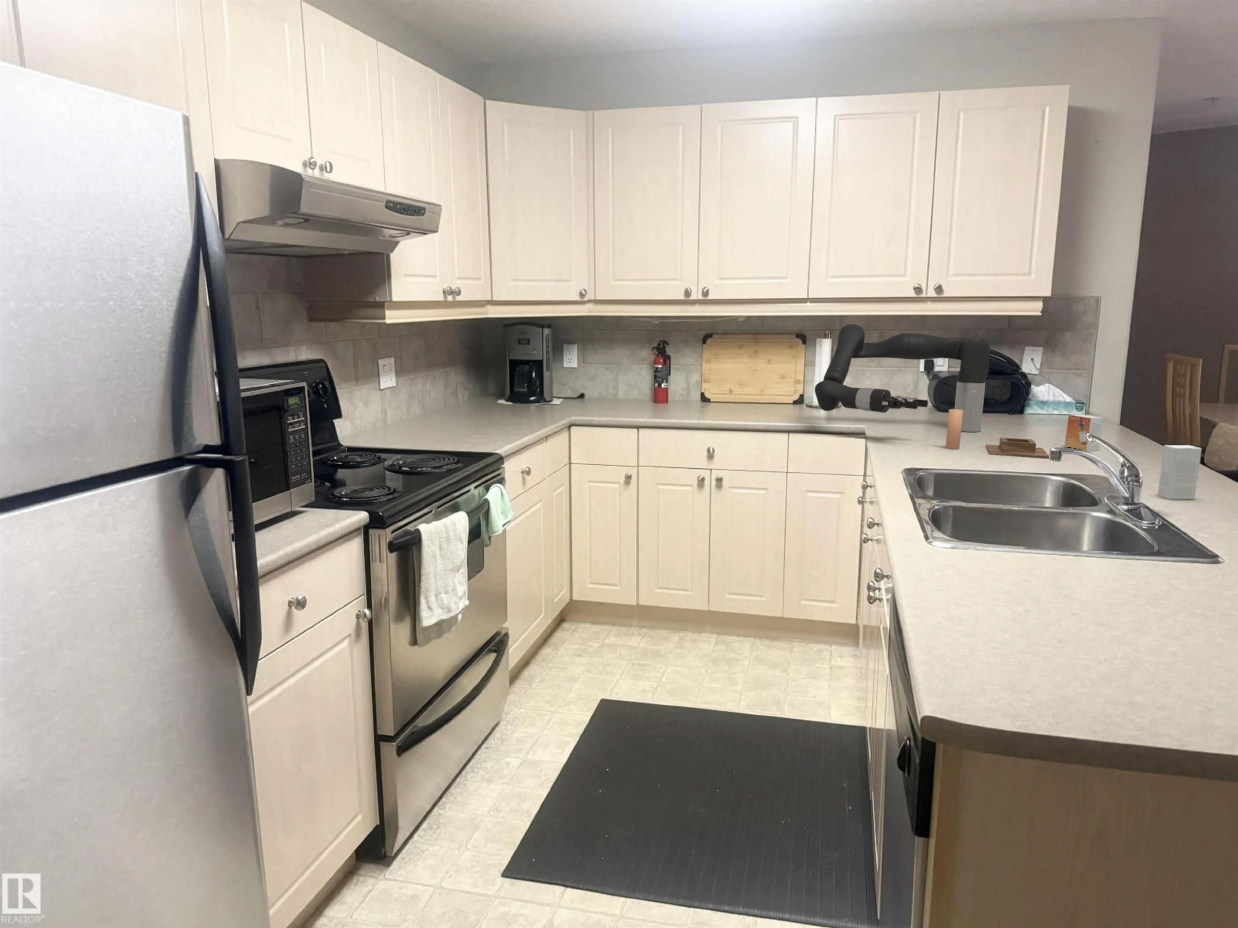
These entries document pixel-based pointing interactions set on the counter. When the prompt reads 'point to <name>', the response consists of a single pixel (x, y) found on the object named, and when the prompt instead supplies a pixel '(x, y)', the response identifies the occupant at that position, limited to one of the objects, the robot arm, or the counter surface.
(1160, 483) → the skincare box
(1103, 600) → the counter surface
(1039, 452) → the socket block
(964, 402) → the robot arm
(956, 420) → the pin
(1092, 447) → the small box
